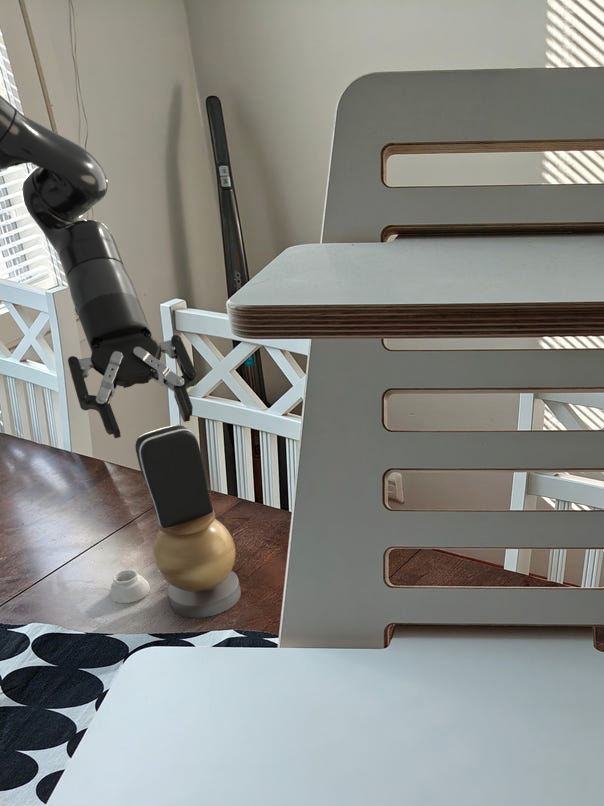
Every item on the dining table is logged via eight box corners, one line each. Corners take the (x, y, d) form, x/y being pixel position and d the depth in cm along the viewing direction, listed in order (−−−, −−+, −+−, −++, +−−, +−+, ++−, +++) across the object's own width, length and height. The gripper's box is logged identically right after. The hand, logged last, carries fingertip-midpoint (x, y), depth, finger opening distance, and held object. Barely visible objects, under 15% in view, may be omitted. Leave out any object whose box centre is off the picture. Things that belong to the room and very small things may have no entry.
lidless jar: (108, 590, 130) (115, 609, 127) (102, 572, 128) (109, 590, 125) (145, 579, 132) (154, 598, 128) (140, 561, 130) (148, 579, 127)
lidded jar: (163, 624, 124) (139, 541, 116) (171, 581, 131) (148, 500, 124) (243, 615, 125) (224, 532, 117) (246, 572, 132) (228, 492, 125)
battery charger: (205, 501, 123) (185, 417, 116) (216, 513, 121) (196, 428, 114) (151, 518, 120) (127, 433, 113) (161, 531, 118) (138, 445, 111)
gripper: (45, 303, 115) (91, 429, 114) (166, 280, 120) (211, 401, 119) (52, 333, 122) (95, 453, 121) (165, 311, 127) (208, 425, 126)
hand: (153, 427), depth 120 cm, fingers open, 8 cm apart
